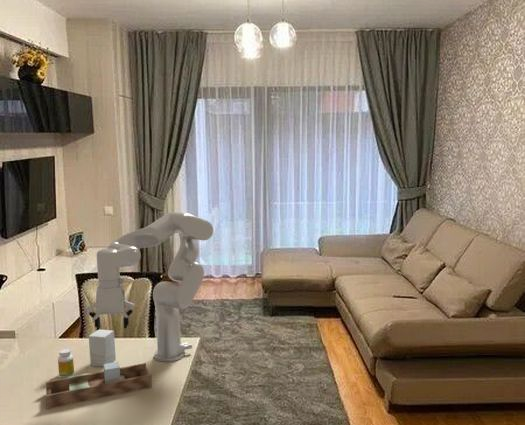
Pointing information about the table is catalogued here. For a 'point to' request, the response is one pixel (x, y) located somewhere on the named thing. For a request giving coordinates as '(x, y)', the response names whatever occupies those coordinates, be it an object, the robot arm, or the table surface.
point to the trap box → (95, 386)
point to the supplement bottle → (65, 363)
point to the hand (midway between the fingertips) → (112, 327)
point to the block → (111, 372)
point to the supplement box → (102, 347)
